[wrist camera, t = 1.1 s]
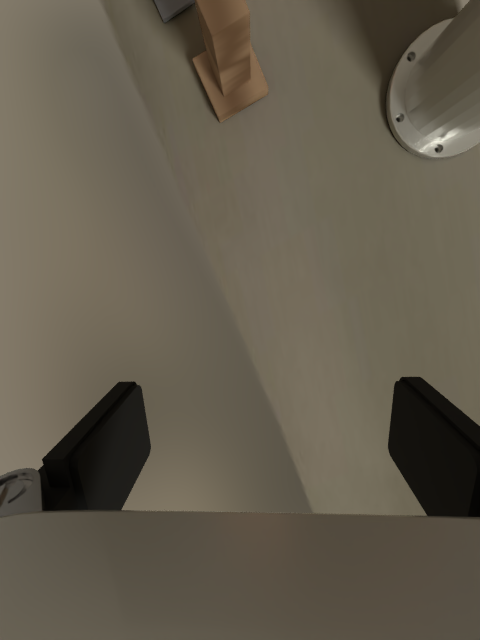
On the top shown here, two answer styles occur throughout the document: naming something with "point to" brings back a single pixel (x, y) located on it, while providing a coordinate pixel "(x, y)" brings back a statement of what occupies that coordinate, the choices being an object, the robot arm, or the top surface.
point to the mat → (172, 7)
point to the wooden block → (228, 57)
